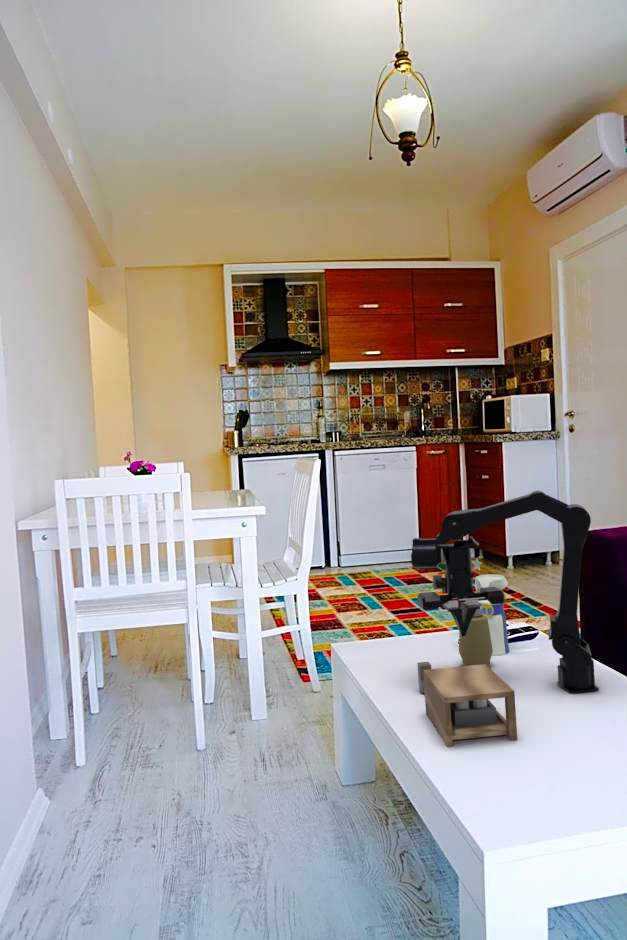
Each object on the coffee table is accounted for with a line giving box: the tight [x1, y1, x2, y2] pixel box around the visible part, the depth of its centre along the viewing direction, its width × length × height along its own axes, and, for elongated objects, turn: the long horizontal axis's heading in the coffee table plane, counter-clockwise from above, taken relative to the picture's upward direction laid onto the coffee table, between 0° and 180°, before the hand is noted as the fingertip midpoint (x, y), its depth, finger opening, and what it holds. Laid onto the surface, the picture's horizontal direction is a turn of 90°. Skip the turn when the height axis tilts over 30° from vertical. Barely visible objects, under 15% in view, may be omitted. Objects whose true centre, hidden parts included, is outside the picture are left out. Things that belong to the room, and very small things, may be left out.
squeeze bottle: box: [458, 606, 493, 667], centre depth 167 cm, size 8×8×18 cm
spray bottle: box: [471, 557, 510, 657], centre depth 177 cm, size 8×9×25 cm
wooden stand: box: [423, 664, 518, 748], centre depth 132 cm, size 13×16×9 cm
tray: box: [450, 699, 497, 728], centre depth 132 cm, size 8×6×4 cm
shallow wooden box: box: [417, 661, 507, 741], centre depth 140 cm, size 11×27×6 cm, turn 5°
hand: (462, 635), depth 155 cm, fingers closed
